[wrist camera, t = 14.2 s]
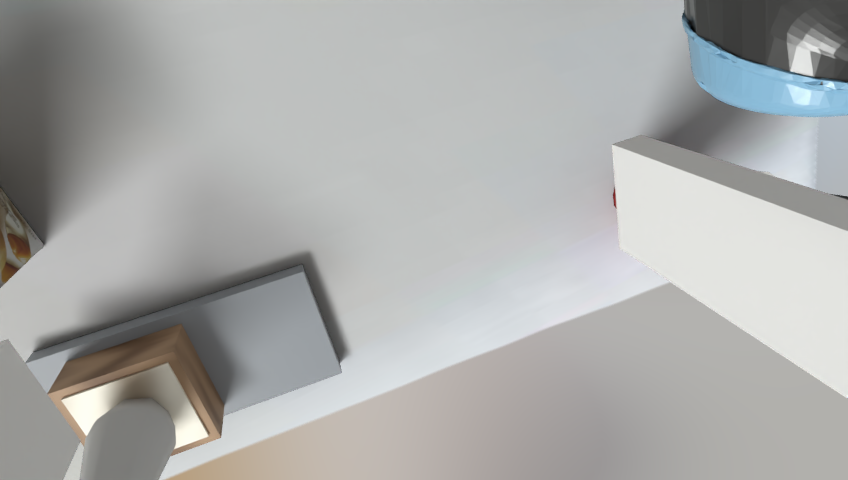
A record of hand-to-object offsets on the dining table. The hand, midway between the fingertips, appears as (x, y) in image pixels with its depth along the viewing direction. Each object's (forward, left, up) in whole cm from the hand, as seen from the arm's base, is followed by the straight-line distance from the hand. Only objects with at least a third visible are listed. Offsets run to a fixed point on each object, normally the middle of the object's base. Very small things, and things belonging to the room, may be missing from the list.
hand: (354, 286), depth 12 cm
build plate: (+7, +23, -32) cm, 40 cm away
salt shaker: (+11, +24, -26) cm, 37 cm away
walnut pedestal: (+11, +24, -30) cm, 40 cm away
